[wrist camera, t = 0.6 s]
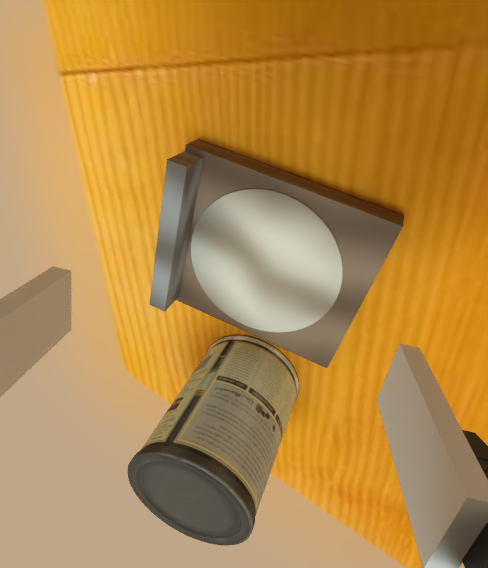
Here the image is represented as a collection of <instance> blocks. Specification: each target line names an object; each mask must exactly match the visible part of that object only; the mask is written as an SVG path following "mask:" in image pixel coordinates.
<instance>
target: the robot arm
mask: <svg viewBox="0 0 488 568" xmlns="http://www.w3.org/2000/svg"><path fill="white" fill-rule="evenodd" d="M70 330H71V271H70V270H66V269H61V268H57V267H51V268H50V269H48V270H47V271H45V272H43V273H42V274H40V275H38V276H37V277H35V278H34V279H32V280H30V281H29V282H27V283H26V284H24V285H23V286H21V287H19V288H18V289H16V290H14V291H13V292H11V293H10V294H8V295H7V296H5V297H3V298H2V299H0V397H1V396H2V395H3V394H4V393H5V392H6V391H7V390H8V389H9V388H10V387H11V386H12V385H13V384H15V383H16V382H17V381H18V380H19V379H20V378H21V377H22V376H23V375H24V374H25V373H26V372H27V371H28V370H29V369H30V368H31V367H32V366H34V365H35V364H36V363H37V362H38V361H39V360H40V359H41V358H42V357H43V356H44V355H45V354H46V353H47V352H48V351H49V350H50V349H51V348H52V347H53V346H55V345H56V344H57V343H58V342H59V341H60V340H61V339H62V338H63V337H64V336H65V335H66V334H67V333H68V332H69V331H70ZM377 402H378V405H379V409H380V413H381V416H382V420H383V424H384V427H385V431H386V435H387V438H388V442H389V446H390V449H391V453H392V456H393V460H394V464H395V467H396V471H397V475H398V478H399V482H400V486H401V489H402V493H403V497H404V500H405V504H406V508H407V511H408V515H409V518H410V522H411V526H412V529H413V533H414V537H415V540H416V544H417V548H418V551H419V555H420V559H421V562H422V566H423V568H459V567H460V565H461V564H462V562H463V564H464V566H465V568H488V446H487V445H486V444H485V443H484V442H483V441H482V440H481V439H480V438H479V437H478V436H477V435H476V434H475V433H473V432H469V431H464V430H462V429H461V427H460V425H459V423H458V421H457V420H456V418H455V416H454V414H453V412H452V410H451V408H450V406H449V404H448V402H447V400H446V398H445V396H444V394H443V392H442V391H441V389H440V387H439V385H438V383H437V381H436V379H435V377H434V375H433V373H432V371H431V369H430V367H429V365H428V363H427V361H426V360H425V358H424V356H423V354H422V352H421V350H420V348H417V347H413V346H408V345H404V344H399V346H398V349H397V351H396V354H395V356H394V359H393V361H392V364H391V366H390V368H389V371H388V373H387V376H386V378H385V381H384V383H383V386H382V388H381V390H380V393H379V395H378V398H377Z"/></svg>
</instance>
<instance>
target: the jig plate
mask: <svg viewBox="0 0 488 568" xmlns="http://www.w3.org/2000/svg"><path fill="white" fill-rule="evenodd" d="M403 219H404V216H403V215H401V214H398V213H395V212H393V211H390V210H387V209H385V208H382V207H379V206H376V205H374V204H371V203H368V202H366V201H363V200H360V199H358V198H355V197H352V196H350V195H347V194H344V193H342V192H339V191H336V190H333V189H331V188H328V187H325V186H323V185H320V184H317V183H315V182H312V181H309V180H307V179H304V178H301V177H299V176H296V175H293V174H291V173H288V172H285V171H282V170H280V169H277V168H274V167H272V166H269V165H266V164H264V163H261V162H258V161H256V160H253V159H250V158H248V157H245V156H242V155H239V154H237V153H234V152H231V151H229V150H226V149H223V148H221V147H218V146H215V145H213V144H210V143H207V142H205V141H202V140H199V139H198V140H196V141H193V142H191V143H189V144H186V148H185V152H183V153H180V154H178V155H176V156H174V157H172V158H169V159H167V166H166V174H165V182H164V191H163V199H162V207H161V215H160V223H159V231H158V239H157V248H156V256H155V264H154V272H153V280H152V288H151V297H150V305H152V306H154V307H156V308H158V309H160V310H163V311H166V309H167V308H168V307H169V306H170V305H171V304H172V303H173V302H174V301H175V300H178V301H180V302H182V303H184V304H186V305H189V306H191V307H193V308H195V309H198V310H200V311H202V312H204V313H206V314H209V315H211V316H213V317H215V318H217V319H220V320H222V321H224V322H226V323H228V324H231V325H233V326H235V327H237V328H239V329H242V330H244V331H246V332H248V333H250V334H253V335H255V336H257V337H259V338H261V339H264V340H266V341H268V342H270V343H272V344H275V345H277V346H279V347H281V348H283V349H286V350H288V351H290V352H292V353H294V354H297V355H299V356H301V357H303V358H305V359H308V360H310V361H312V362H314V363H316V364H319V365H321V366H323V367H325V368H327V367H328V365H329V363H330V361H331V360H332V358H333V356H334V354H335V352H336V350H337V348H338V346H339V345H340V343H341V341H342V339H343V337H344V335H345V333H346V332H347V330H348V328H349V326H350V324H351V322H352V320H353V318H354V317H355V315H356V313H357V311H358V309H359V307H360V305H361V304H362V302H363V300H364V298H365V296H366V294H367V292H368V290H369V289H370V287H371V285H372V283H373V281H374V279H375V277H376V276H377V274H378V272H379V270H380V268H381V266H382V264H383V262H384V261H385V259H386V257H387V255H388V253H389V251H390V249H391V248H392V246H393V244H394V242H395V240H396V238H397V236H398V234H399V233H400V231H401V229H402V227H403Z"/></svg>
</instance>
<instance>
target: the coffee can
mask: <svg viewBox="0 0 488 568" xmlns="http://www.w3.org/2000/svg"><path fill="white" fill-rule="evenodd" d="M298 392H299V381H298V377H297V374H296V372H295V369H294V368H293V366H292V364H291V363H290V362H289V360H288V359H287V358H286V357H285V356H284V355H283V354H282V353H281V352H280V351H278V350H277V349H276V348H274V347H273V346H271V345H269V344H268V343H266V342H263V341H261V340H259V339H255V338H252V337H248V336H241V335H234V336H228V337H223V338H221V339H219V340H218V341H216V342H215V343H214V344H212V346H211V347H210V348H209V350H208V351H207V353H206V355H205V357H204V358H203V360H202V361H201V363H200V364H199V365H198V367H197V368H196V370H195V371H194V373H193V374H192V376H191V377H190V379H189V380H188V382H187V383H186V385H185V386H184V387H183V389H182V390H181V392H180V393H179V395H178V396H177V398H176V399H175V401H174V402H173V404H172V405H171V407H170V408H169V409H168V411H167V412H166V414H165V415H164V417H163V418H162V420H161V421H160V423H159V424H158V426H157V427H156V429H155V430H154V431H153V433H152V434H151V436H150V437H149V439H148V440H147V442H146V443H145V445H144V446H143V448H142V449H141V450H140V451H139V452H138V453H137V454H136V455H135V456H134V457H133V459H132V460H131V462H130V463H129V465H128V477H129V481H130V484H131V486H132V488H133V490H134V492H135V493H136V495H137V496H138V497H139V499H140V500H141V501H142V503H143V504H144V505H145V506H146V507H147V508H148V509H149V510H150V511H151V512H152V513H153V514H154V515H156V516H157V517H158V518H159V519H161V520H162V521H163V522H165V523H166V524H168V525H169V526H171V527H172V528H174V529H176V530H178V531H179V532H181V533H183V534H185V535H187V536H190V537H192V538H195V539H197V540H200V541H203V542H207V543H212V544H217V545H235V544H239V543H242V542H244V541H245V540H247V539H248V537H249V536H250V534H251V532H252V530H253V526H254V523H255V516H256V513H257V510H258V506H259V504H260V501H261V498H262V495H263V492H264V489H265V486H266V484H267V481H268V478H269V475H270V472H271V469H272V466H273V463H274V460H275V457H276V454H277V451H278V448H279V446H280V443H281V440H282V437H283V434H284V431H285V428H286V425H287V422H288V419H289V416H290V413H291V410H292V407H293V404H294V402H295V400H296V398H297V396H298Z"/></svg>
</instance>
